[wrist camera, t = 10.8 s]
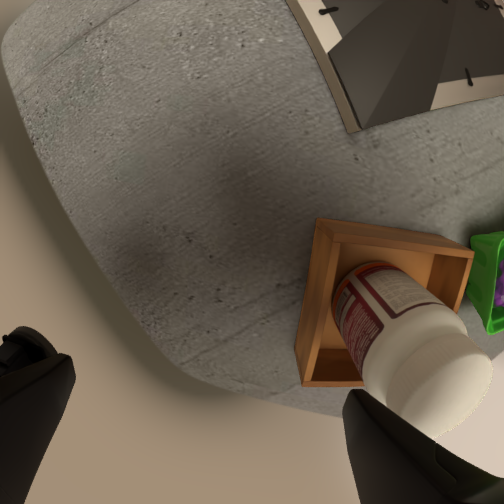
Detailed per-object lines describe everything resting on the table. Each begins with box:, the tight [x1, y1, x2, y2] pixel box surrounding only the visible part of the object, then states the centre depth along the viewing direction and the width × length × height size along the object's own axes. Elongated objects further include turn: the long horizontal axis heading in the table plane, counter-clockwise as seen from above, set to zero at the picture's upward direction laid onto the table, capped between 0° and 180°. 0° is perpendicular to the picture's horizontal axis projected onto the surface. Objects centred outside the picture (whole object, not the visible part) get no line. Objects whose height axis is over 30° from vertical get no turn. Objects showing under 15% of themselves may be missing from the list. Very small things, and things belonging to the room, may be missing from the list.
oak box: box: [294, 218, 475, 387], centre depth 19 cm, size 10×10×4 cm
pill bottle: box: [332, 261, 493, 439], centre depth 15 cm, size 6×6×11 cm
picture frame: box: [286, 0, 504, 134], centre depth 14 cm, size 16×3×21 cm
